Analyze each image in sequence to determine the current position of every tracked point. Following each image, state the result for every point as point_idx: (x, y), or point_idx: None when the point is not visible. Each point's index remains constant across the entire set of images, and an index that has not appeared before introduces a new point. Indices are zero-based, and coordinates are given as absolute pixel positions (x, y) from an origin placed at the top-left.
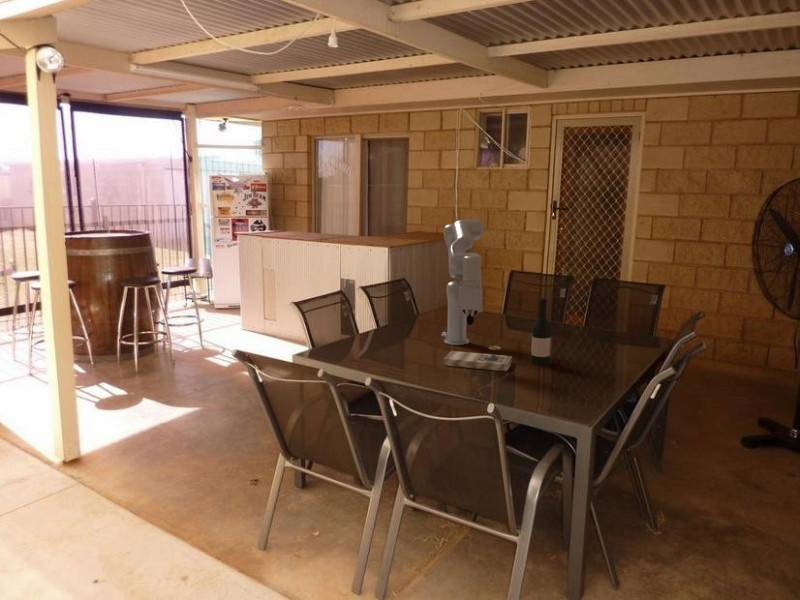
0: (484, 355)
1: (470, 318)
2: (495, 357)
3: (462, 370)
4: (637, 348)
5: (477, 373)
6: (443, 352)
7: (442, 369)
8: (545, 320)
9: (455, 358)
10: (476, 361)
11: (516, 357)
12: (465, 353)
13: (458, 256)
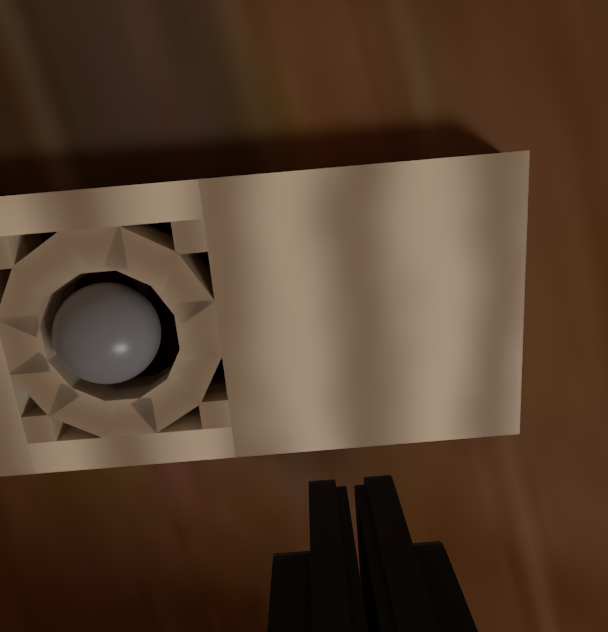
0: (204, 410)
1: (336, 598)
2: (55, 323)
3: (302, 63)
4: None
5: (149, 27)
6: (585, 501)
7: (480, 13)
8: None
9: (421, 205)
10: (203, 188)
11: (41, 585)
12: (379, 404)
13: None
